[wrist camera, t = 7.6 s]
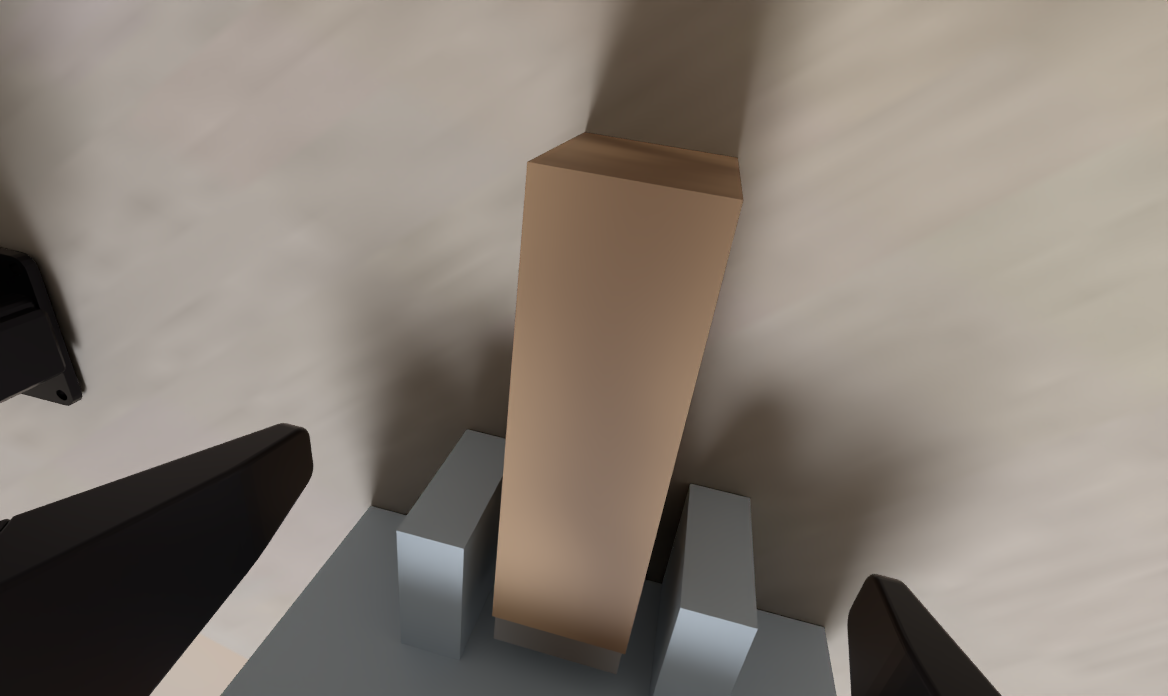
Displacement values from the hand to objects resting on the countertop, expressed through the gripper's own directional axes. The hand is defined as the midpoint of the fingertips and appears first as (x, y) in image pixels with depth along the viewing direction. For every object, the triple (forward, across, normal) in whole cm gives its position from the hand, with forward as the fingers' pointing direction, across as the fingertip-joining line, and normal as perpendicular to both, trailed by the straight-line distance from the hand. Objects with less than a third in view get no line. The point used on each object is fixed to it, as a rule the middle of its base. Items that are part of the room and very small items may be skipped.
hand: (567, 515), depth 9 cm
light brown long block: (+9, 0, +3) cm, 9 cm away
